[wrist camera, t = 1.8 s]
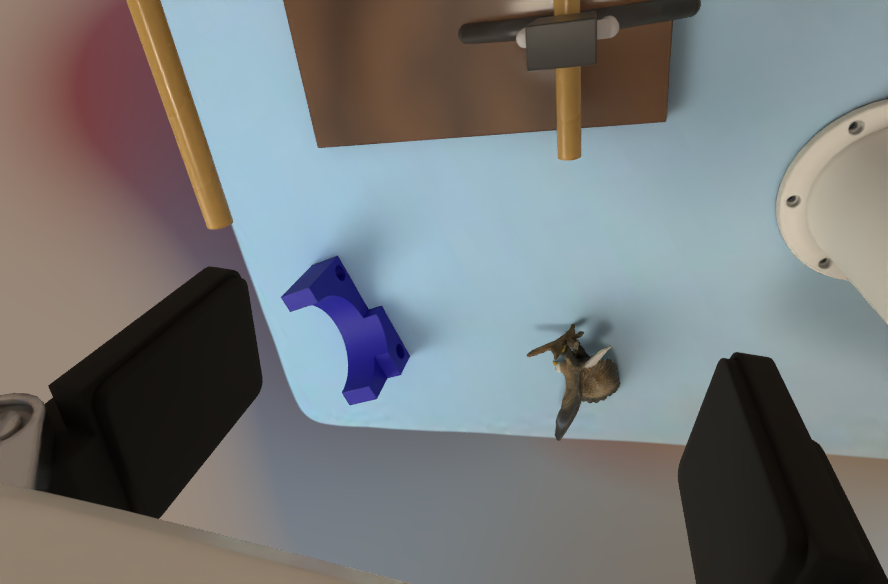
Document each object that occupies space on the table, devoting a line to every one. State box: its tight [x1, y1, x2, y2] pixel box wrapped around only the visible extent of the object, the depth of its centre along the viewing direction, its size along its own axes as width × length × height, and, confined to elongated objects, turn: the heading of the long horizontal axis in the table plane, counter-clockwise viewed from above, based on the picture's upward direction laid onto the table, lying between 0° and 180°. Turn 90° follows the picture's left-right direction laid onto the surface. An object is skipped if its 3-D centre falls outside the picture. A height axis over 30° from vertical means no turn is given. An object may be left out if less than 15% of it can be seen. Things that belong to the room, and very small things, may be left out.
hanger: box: [458, 0, 701, 72], centre depth 27 cm, size 14×2×15 cm, turn 97°
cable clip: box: [281, 256, 410, 405], centre depth 49 cm, size 12×4×6 cm, turn 25°
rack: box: [126, 0, 673, 229], centre depth 29 cm, size 26×14×21 cm, turn 98°
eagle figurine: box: [527, 324, 620, 441], centre depth 46 cm, size 8×7×9 cm
